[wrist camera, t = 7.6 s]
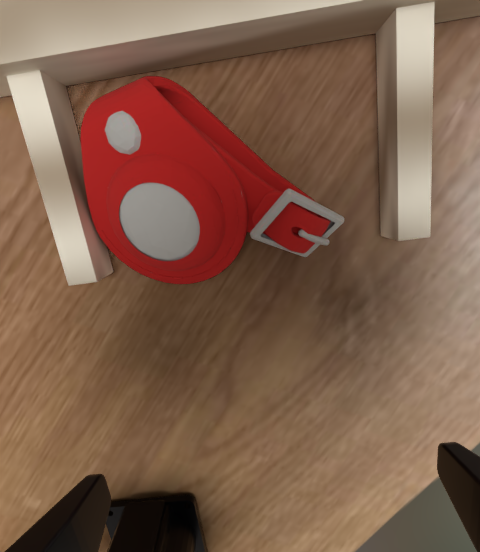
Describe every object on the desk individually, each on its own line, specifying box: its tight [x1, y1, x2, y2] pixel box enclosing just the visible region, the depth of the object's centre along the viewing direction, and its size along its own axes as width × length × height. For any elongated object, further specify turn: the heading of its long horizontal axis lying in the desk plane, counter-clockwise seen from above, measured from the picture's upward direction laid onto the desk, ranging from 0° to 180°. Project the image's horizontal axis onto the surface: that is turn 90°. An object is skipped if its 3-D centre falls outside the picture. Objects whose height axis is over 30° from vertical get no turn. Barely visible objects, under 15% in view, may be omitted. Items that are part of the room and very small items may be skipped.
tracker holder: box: [80, 76, 344, 284], centre depth 15 cm, size 12×4×10 cm
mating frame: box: [0, 0, 480, 286], centre depth 14 cm, size 12×25×3 cm, turn 98°
